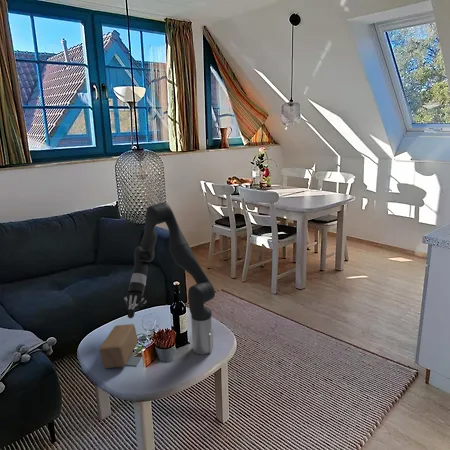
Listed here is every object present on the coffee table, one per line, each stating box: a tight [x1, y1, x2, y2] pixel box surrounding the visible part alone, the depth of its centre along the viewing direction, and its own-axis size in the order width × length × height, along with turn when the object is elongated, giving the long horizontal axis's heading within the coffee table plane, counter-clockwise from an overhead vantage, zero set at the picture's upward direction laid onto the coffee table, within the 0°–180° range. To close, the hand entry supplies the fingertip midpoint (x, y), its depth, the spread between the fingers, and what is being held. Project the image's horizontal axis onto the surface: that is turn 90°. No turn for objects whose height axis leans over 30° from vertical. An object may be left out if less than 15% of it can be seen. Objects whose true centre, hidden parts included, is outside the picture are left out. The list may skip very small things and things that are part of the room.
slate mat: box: [125, 352, 142, 367], centre depth 183 cm, size 16×14×1 cm
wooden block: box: [98, 323, 139, 369], centre depth 180 cm, size 10×10×20 cm
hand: (130, 317), depth 192 cm, fingers closed
